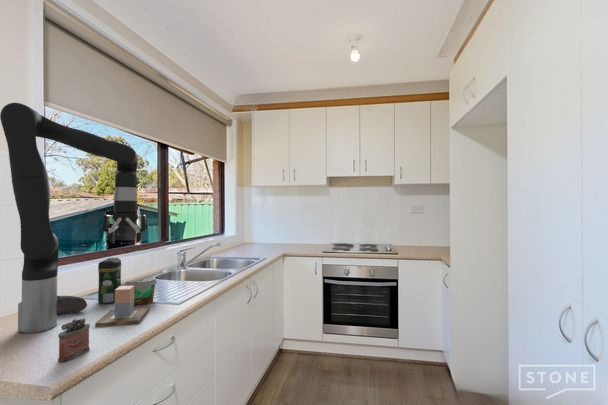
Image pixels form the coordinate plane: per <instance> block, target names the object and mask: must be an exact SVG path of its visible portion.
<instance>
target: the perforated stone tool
mask: <svg viewBox="0 0 608 405" xmlns="http://www.w3.org/2000/svg"><path fill="white" fill-rule="evenodd" d="M87 306H88V303H87V301H86V300H85V299H84V298H82V297H80V296H75V295H57V315H66V314H74V313H79V312H82V311H84V310H86V308H87Z"/></svg>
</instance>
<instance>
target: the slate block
mask: <svg viewBox="0 0 608 405" xmlns="http://www.w3.org/2000/svg"><path fill="white" fill-rule="evenodd" d="M134 308H135V306H134V299H133V300H132V301H131V302H130V303H117V304H115V303H114V317H127V316H130V315H131V314H132V313H133V312H134Z"/></svg>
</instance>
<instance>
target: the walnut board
mask: <svg viewBox="0 0 608 405" xmlns="http://www.w3.org/2000/svg"><path fill="white" fill-rule="evenodd" d="M150 308H151V307H150V306H147V307H146V306H145V307H134V312H133V313H132V314H131V315H130V316H127V317H114V309H115V308H114V309H109V311H107V313H105V314H104V315H103V316H102V317H100V318H99V319H98V320H97V321H96V322H95V323H94V327H95V328H98V327H99V328H100V327H111V326H125V325H126V326H127V325H135V324H136V325H137V324H140V323H141V322H142V321H143V320H144V318H145V317H146V316H147V314H148V313H149V312H150V310H151V309H150ZM142 319H143V320H142Z"/></svg>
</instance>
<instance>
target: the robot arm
mask: <svg viewBox="0 0 608 405" xmlns="http://www.w3.org/2000/svg"><path fill="white" fill-rule="evenodd" d="M0 123H1V127H2V130H3V132H4V137H5V140H6V144H7V151H8V159H9V167H10V176H11V185H12V189H13V190H12V191H13V195H14V200H15V204H16V208H17V212H18V215H19V220H20V222H19V223H20V250H21V252H22V253H23V266H22V272H21V301H20V302H19V303H18V304H17V333H24V334H33V333H39V332H44V331H47V330H50V329H53V328H54V327H56V326H57V325H58V314H57V296H58V270H59V269H58V267H59V254H60V253H59V252H60V251H59V247H60V245H59V243H60V242H59V238H58V236H57V235H56V234H55V233H54V232H53V229H52V224H51V220H50V206H51V205H50V204H51V188H50V187H51V186H50V181H49V180H50V179H49V174H48V169H47V168H46V165H45V162H44V160H43V158H42V156H41V154H40V151H39V149H38V145H37V138H43V139H47V140H50V141H54V142H57V143H60V144H63V145H66V146H68V147H71V148H74V149H76V150H78V151H81V152H83V153H87V154H90V155H93V156H96V157H99V158H100V157H101V158H106V159H108V160H111V161H114V162H116V173H115V176H114V177H115V178H114V191H113V214H112V215H109V214H106V215H104V216H103V223H102V231H103V233H104V232H106V233H108V242H109V243H110V244H115V242H116V241H115V240H116V233H115V231H116V230H117V229H118V228H119V227H120V228H123V227H128V228H129V227H131V228H132V229H133V230H134V231H135V232H136V233H135V244H136V243H137V244H138V243H140V242H141V241H142V233H143V232H145V231H148V223H147V221H148V220H147V215H146V214H143V215H138V190H137V186H138V185H137V180H138V179H137V178H138V177H137V171H138V154H137V152H136V150H135V149H134V148H133V147H132V146H129V145H127V144H124V143H121V142H118V141H113V140H109V139H107V138H106V137H105V138H104V137H103V136H102V137H101V136H99V135H96V134H94V133H92V132H91V133H90V132H88V131H84V130H81V129H77V128H74V127H70V126H66V125H63V124H60V123H58V122H55V121H54V120H51V119H49V118H47V117H45V116H44V115H41V114H40V113H39V112H38V111H37V110H34V109H33V108H32V107H30V106H28V105H25V104H23V103H19V102H9V103H8V104H6V105H4V106H3V107H2V109H1V111H0ZM112 220H113V221H114V223H113V224H112V225H111V227H110V222H111V221H112ZM138 220H139V221H140V222H141V224H140V225H141V227H140V225H138V224H139V223H137V221H138Z"/></svg>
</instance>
